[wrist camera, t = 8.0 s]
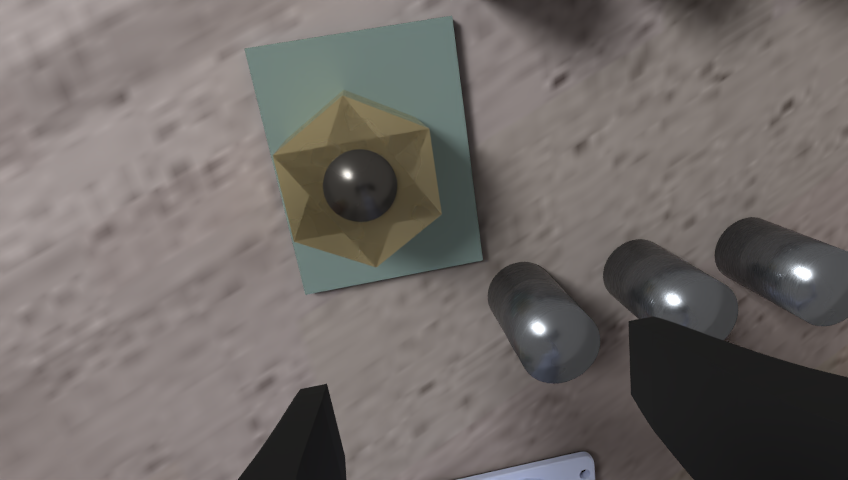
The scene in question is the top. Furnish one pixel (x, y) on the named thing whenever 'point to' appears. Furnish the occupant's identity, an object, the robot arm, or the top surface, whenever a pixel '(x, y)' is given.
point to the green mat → (393, 87)
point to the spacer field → (669, 293)
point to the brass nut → (358, 179)
